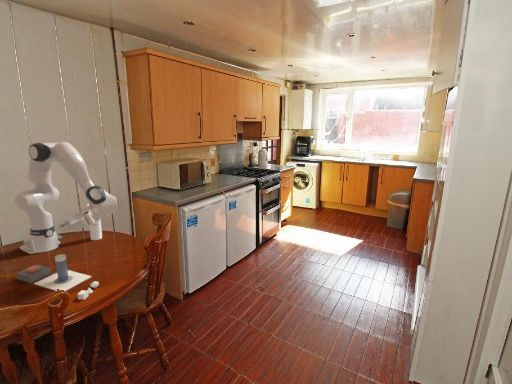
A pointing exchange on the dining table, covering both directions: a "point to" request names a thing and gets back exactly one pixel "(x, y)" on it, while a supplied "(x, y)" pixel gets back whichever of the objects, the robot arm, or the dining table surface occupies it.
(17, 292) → the dining table surface
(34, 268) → the button
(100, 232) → the cylindrical container
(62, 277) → the blue and white cylinder
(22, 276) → the button housing
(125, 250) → the dining table surface
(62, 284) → the paper sheet
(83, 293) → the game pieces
